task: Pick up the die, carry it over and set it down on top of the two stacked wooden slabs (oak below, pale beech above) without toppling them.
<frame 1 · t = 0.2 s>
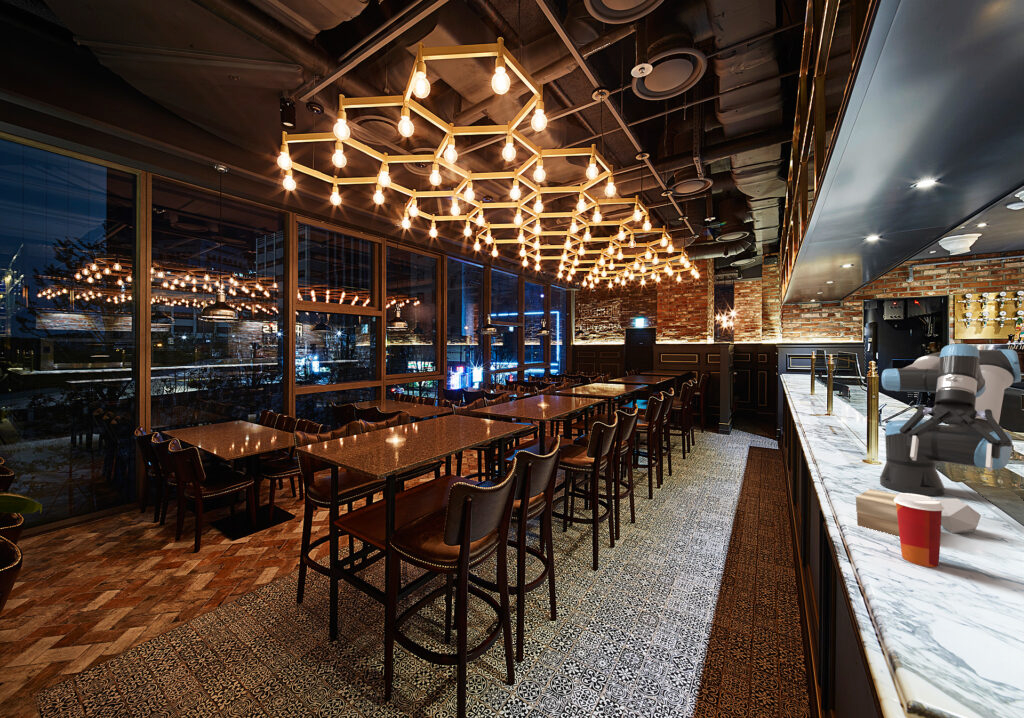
hand: (948, 463, 103), 16 cm above the counter, tool tilted 30°, fingers open, 13 cm apart
tower top slab: (890, 513, 102), point 4 cm above the counter, touching tower base slab
paper cup: (919, 561, 85), on the counter
tower base slab: (891, 529, 101), on the counter, touching tower top slab
die: (954, 530, 99), on the counter
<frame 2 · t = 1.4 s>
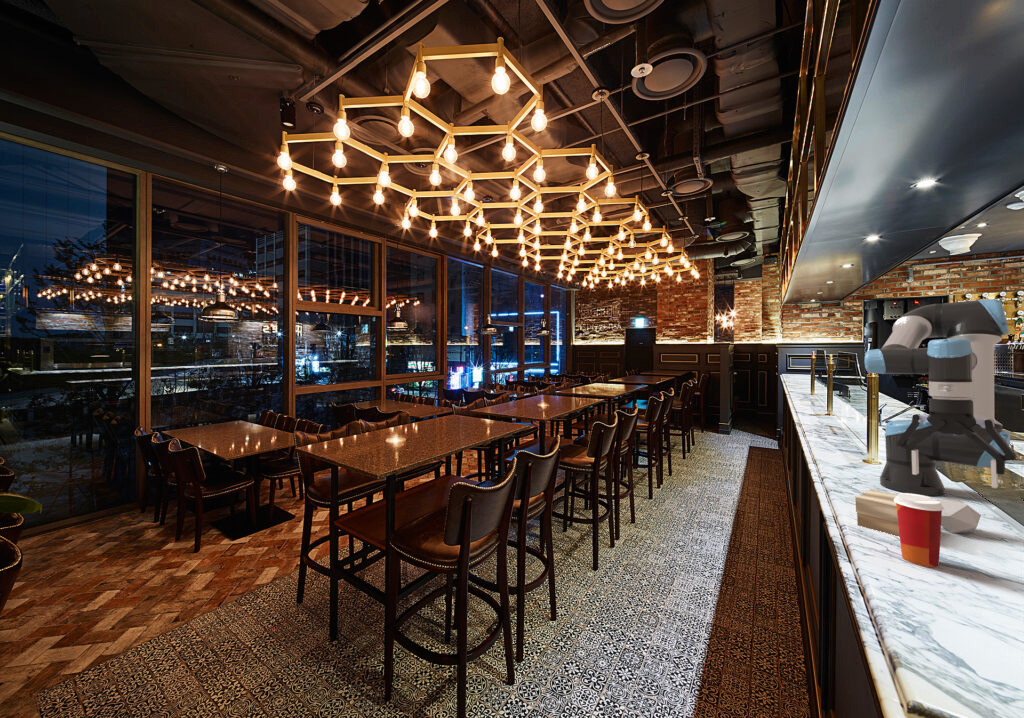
hand: (953, 480, 99), 13 cm above the counter, tool pointing down, fingers open, 13 cm apart
nothing on the counter moved.
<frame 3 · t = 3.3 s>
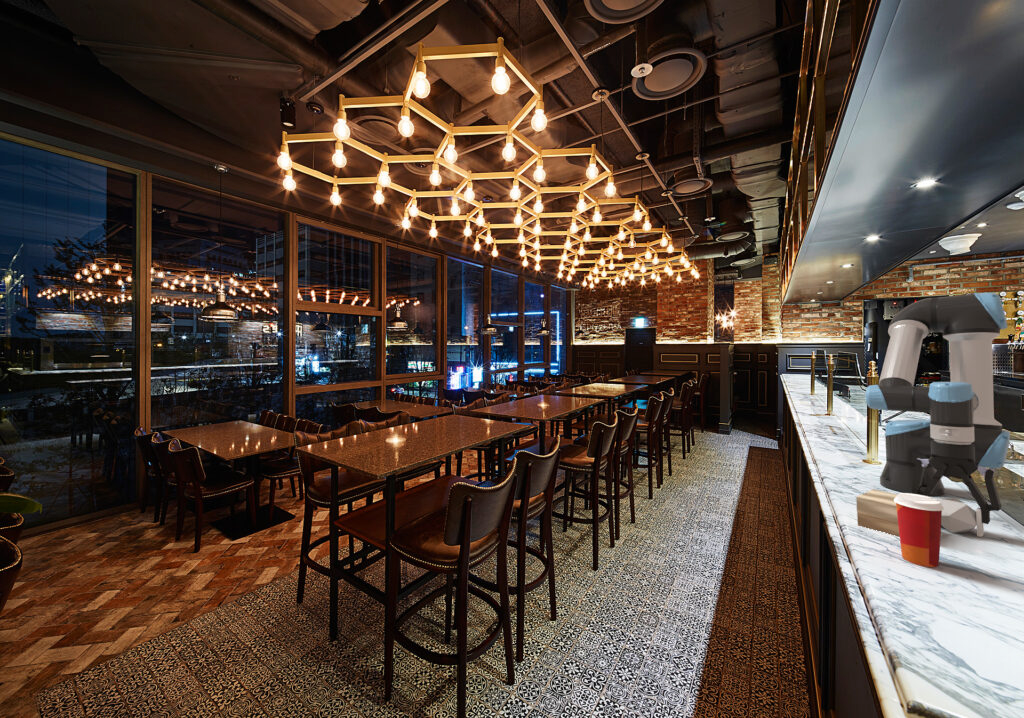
hand: (954, 529, 99), 0 cm above the counter, tool pointing down, fingers closed on die, 8 cm apart
die: (954, 530, 99), on the counter, touching gripper
everything else where it was.
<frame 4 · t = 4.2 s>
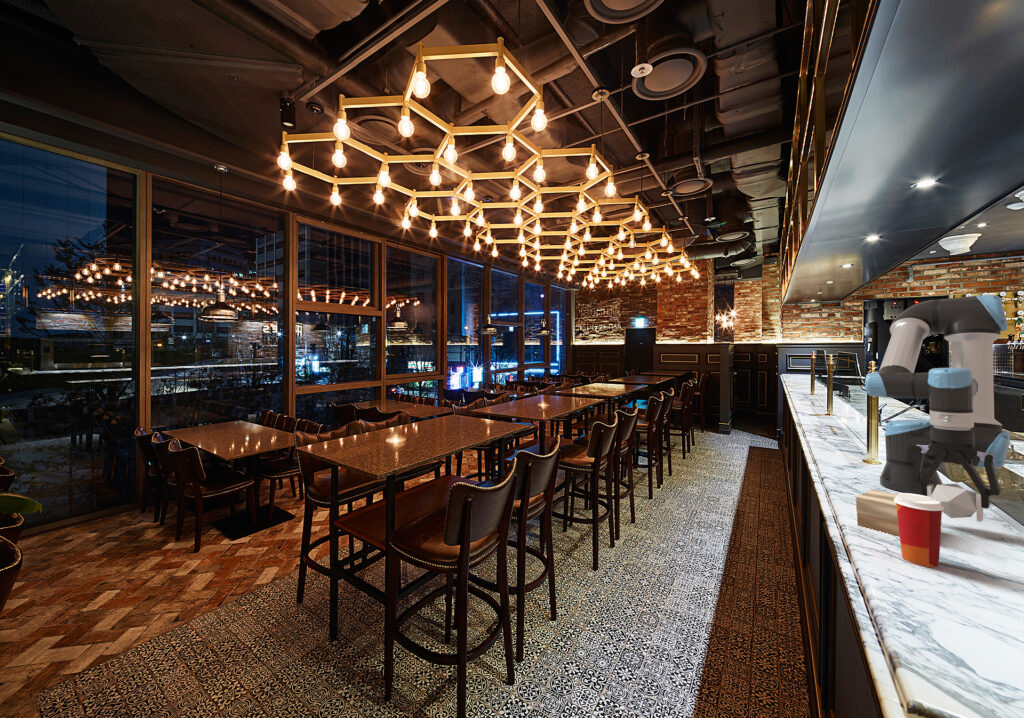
hand: (954, 514, 100), 4 cm above the counter, tool pointing down, fingers closed on die, 8 cm apart
die: (954, 515, 100), point 3 cm above the counter, touching gripper
everything else where it was.
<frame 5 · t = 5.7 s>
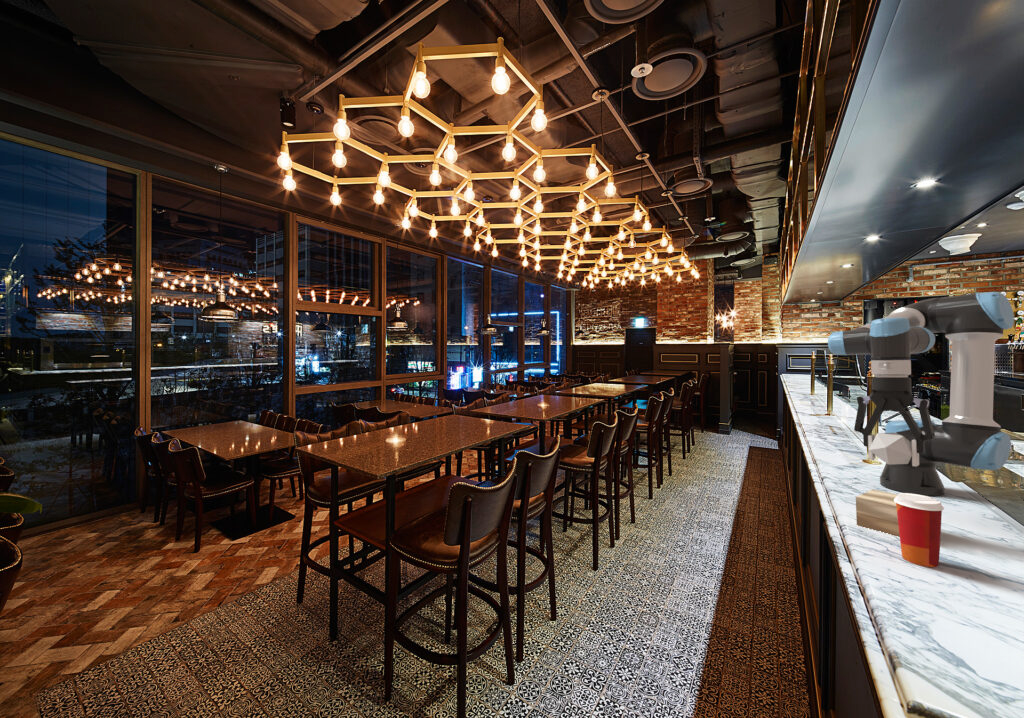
hand: (893, 461, 101), 18 cm above the counter, tool pointing down, fingers closed on die, 8 cm apart
die: (892, 463, 101), point 17 cm above the counter, touching gripper
everything else where it was.
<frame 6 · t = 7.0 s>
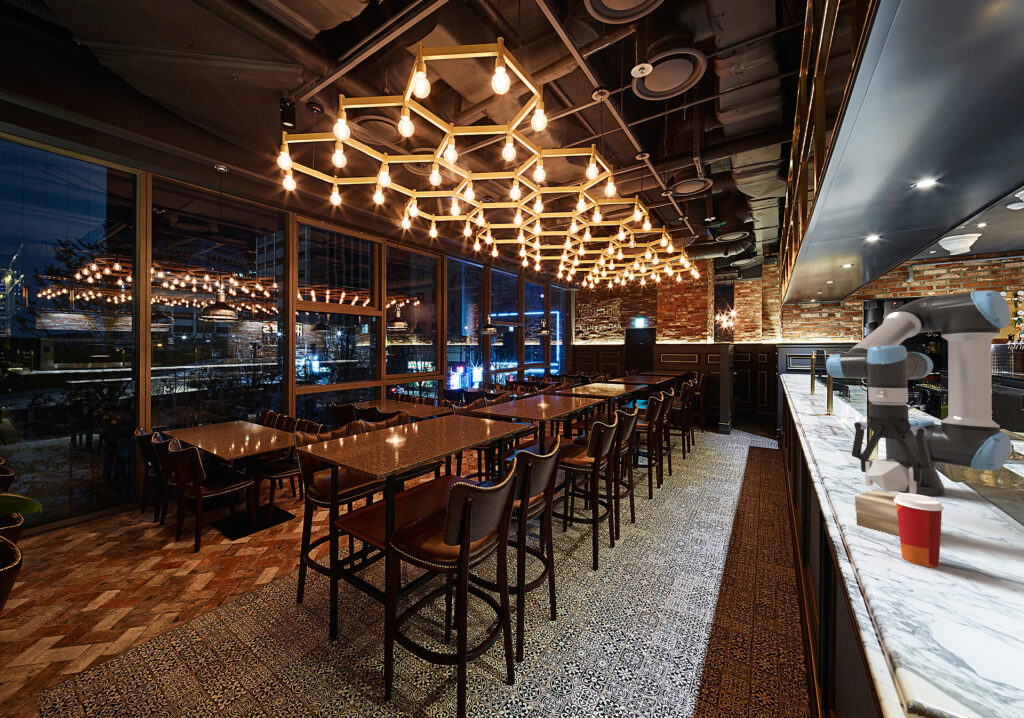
hand: (890, 488, 102), 10 cm above the counter, tool pointing down, fingers closed on die, 8 cm apart
die: (889, 490, 102), point 10 cm above the counter, touching gripper
everything else where it was.
when the fingers open (10 cm above the counter, at t = 7.9 s): die stays where it is, point 9 cm above the counter.
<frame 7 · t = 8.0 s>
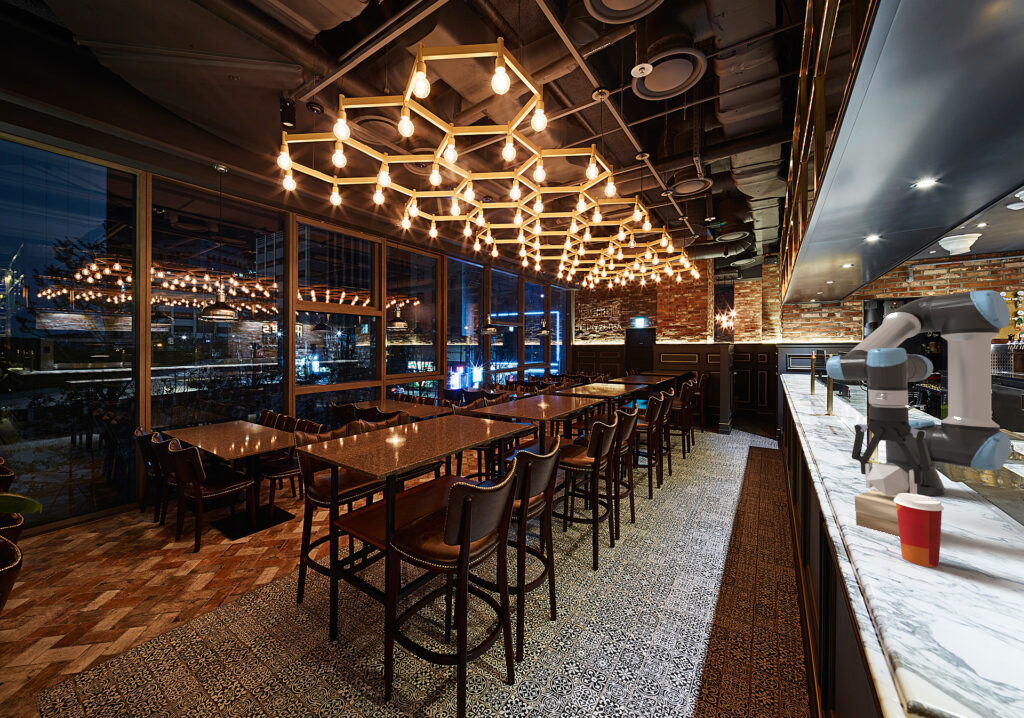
hand: (890, 491, 102), 10 cm above the counter, tool pointing down, fingers open, 8 cm apart
die: (890, 494, 102), point 9 cm above the counter
everything else where it was.
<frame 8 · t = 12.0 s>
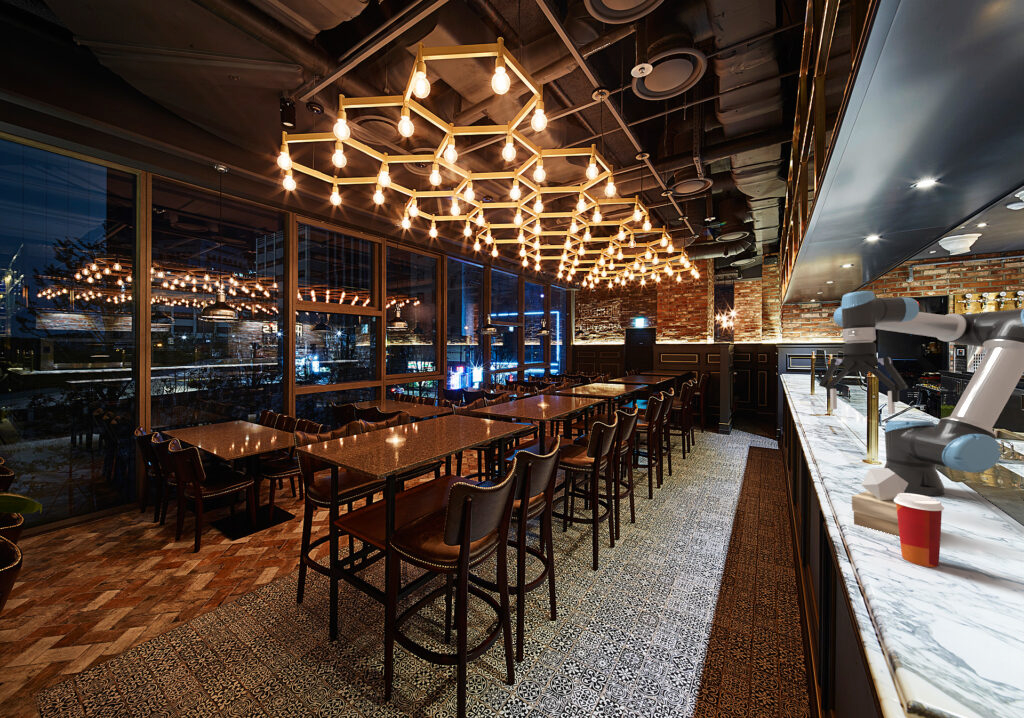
hand: (861, 411, 117), 29 cm above the counter, tool pointing down, fingers open, 13 cm apart
die: (884, 499, 102), point 7 cm above the counter
everything else where it was.
at the end: die inside the target area on the tower top slab (0.7 cm from its centre), point 3.8 cm above the tower top slab's base; tower top slab tilted 0°; tower top slab moved 0.9 cm from its start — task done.
